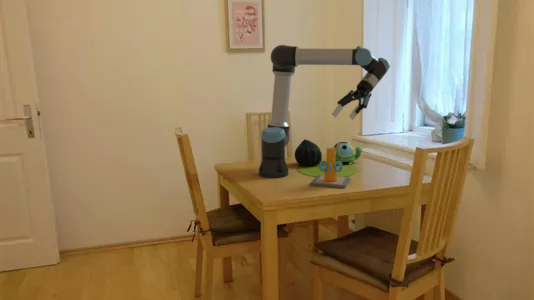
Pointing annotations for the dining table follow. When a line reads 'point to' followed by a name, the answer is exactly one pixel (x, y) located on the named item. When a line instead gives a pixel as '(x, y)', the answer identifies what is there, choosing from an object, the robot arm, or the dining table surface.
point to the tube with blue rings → (330, 166)
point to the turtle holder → (346, 152)
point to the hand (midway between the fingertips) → (341, 116)
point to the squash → (308, 153)
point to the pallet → (331, 182)
